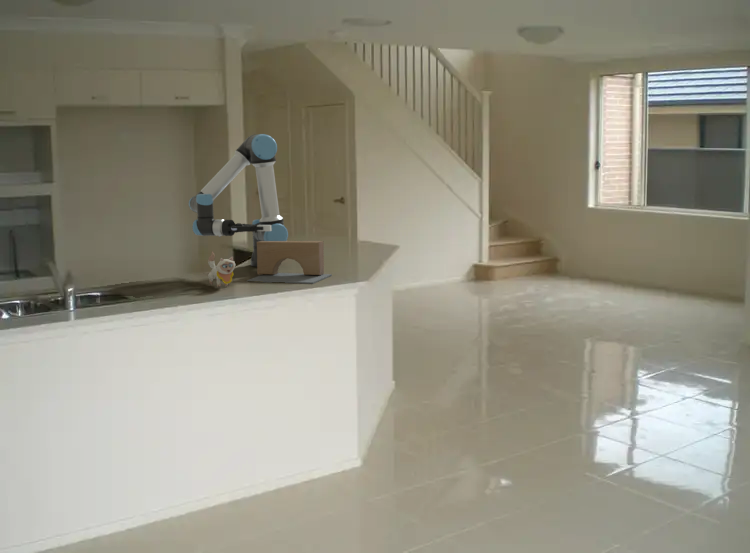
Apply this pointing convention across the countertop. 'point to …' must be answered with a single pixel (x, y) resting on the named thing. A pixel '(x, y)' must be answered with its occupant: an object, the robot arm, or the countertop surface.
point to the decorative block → (290, 256)
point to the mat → (291, 278)
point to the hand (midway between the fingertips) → (270, 228)
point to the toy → (221, 270)
